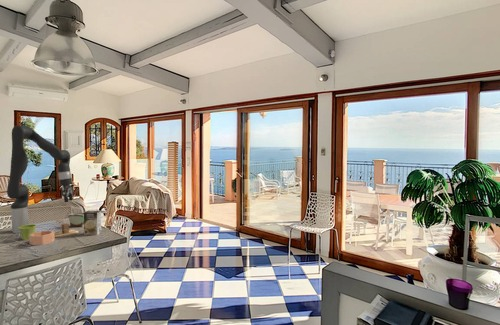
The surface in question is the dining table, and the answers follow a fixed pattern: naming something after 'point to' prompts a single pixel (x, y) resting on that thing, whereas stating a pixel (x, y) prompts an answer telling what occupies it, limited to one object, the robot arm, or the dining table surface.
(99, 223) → the coffee box
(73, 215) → the food container
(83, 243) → the dining table surface
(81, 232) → the charcoal mat
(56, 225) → the dining table surface
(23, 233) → the plant pot
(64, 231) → the oak lid
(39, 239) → the terracotta bowl
